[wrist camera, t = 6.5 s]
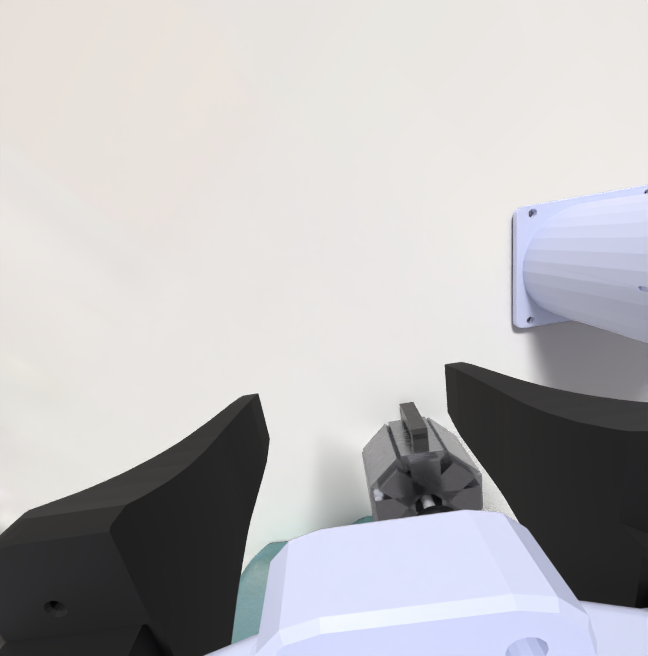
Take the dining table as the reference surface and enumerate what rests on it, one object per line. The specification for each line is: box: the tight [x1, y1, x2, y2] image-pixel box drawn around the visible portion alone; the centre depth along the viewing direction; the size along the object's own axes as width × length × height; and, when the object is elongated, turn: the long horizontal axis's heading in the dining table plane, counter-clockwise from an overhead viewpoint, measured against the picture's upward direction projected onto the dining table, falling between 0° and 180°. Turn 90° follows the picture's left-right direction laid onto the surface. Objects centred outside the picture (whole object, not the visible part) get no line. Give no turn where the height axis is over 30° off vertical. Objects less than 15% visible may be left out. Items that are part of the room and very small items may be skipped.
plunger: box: [416, 494, 455, 516], centre depth 21 cm, size 3×3×6 cm
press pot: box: [362, 402, 483, 522], centre depth 22 cm, size 8×9×4 cm
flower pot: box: [231, 542, 288, 644], centre depth 23 cm, size 9×9×9 cm
